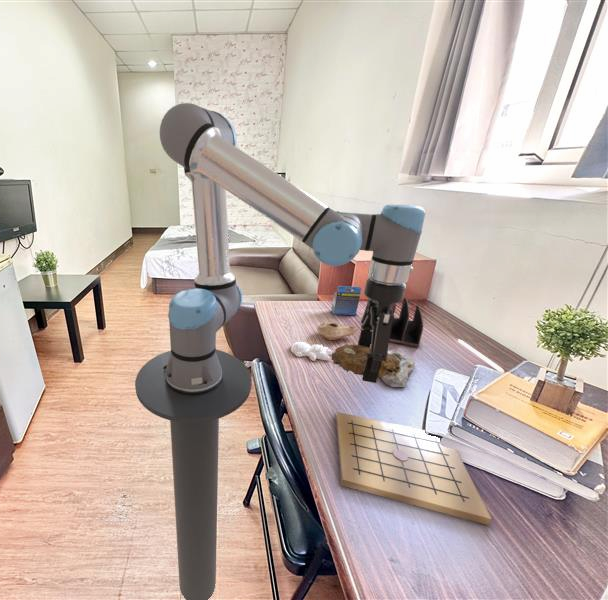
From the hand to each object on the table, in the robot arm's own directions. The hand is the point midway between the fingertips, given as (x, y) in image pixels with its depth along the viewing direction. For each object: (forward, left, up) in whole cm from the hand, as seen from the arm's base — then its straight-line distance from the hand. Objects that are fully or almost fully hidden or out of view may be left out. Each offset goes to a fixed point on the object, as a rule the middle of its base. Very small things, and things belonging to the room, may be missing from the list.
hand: (365, 366), depth 74 cm
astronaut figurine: (-12, +18, -10) cm, 23 cm away
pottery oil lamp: (-4, +31, -10) cm, 33 cm away
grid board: (+5, -18, -9) cm, 21 cm away
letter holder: (+18, +43, -10) cm, 48 cm away
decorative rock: (0, 0, 0) cm, 0 cm away
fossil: (+11, +16, -10) cm, 22 cm away
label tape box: (0, +54, -10) cm, 55 cm away
